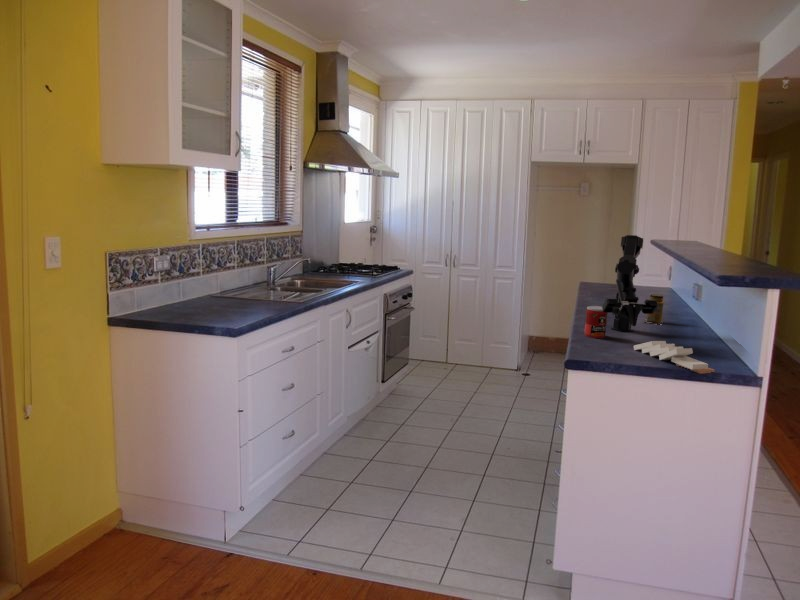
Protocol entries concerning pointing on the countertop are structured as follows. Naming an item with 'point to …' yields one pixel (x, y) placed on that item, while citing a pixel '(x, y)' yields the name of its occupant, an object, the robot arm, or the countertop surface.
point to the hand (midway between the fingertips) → (634, 325)
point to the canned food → (595, 322)
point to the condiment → (657, 314)
